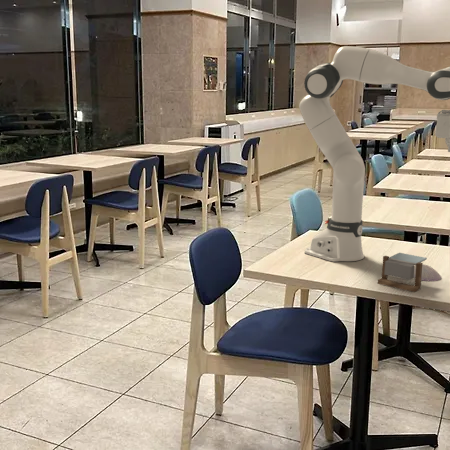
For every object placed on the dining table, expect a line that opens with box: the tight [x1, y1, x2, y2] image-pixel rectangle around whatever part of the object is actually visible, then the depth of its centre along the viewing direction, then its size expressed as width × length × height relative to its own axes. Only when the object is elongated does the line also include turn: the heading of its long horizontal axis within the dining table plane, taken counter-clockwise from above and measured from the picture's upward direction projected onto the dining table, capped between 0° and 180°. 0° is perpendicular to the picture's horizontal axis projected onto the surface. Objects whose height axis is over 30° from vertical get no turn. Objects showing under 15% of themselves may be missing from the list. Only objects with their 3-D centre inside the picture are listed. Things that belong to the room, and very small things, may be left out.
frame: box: [377, 255, 424, 293], centre depth 184 cm, size 13×4×8 cm, turn 49°
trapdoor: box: [384, 252, 427, 281], centre depth 186 cm, size 9×11×5 cm
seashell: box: [413, 263, 442, 282], centre depth 194 cm, size 10×6×10 cm
